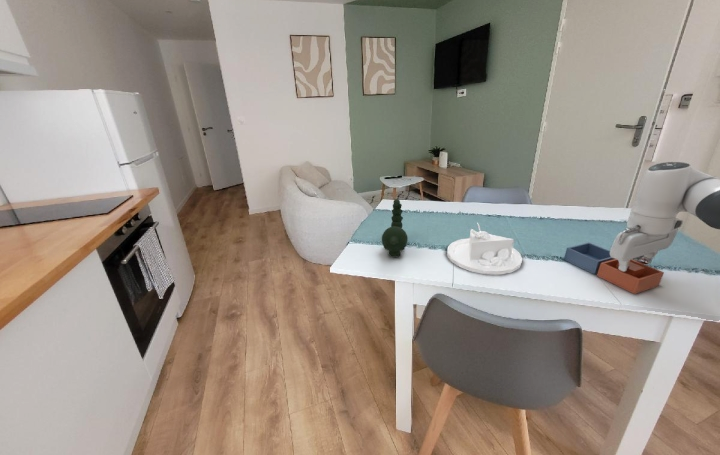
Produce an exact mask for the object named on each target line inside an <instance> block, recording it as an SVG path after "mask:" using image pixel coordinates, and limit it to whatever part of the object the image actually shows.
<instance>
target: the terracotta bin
mask: <svg viewBox="0 0 720 455" xmlns="http://www.w3.org/2000/svg"><path fill="white" fill-rule="evenodd" d="M629 262H632V263H634V264H637V265H639V266H642V267H644V268H645V270H644V272H643V275H642V278H640V279H638V278H636V277H634V276H632V275H629V274H627V273H625V272H622V271H620V270H618V269H616V267H617V264H618V263H619V261H618V260H617V259H613V260H610V261H606V262H603V263H601V264H600V267H599V271H598V273H597V274H596V277H598V278H601V279H603V280H604V281H607V282H609V283H611V284H613V285H615V286H617V287H619V288H621V289H623V290H625V291H628V292H629V293H632V294H634V295H636V294H638V293H642V292H645V291H647V290H651V289H654V288H657V287H659V286H660V283H661V281H662V279H663V277H664V274H665V272H664V271H662V270H659V269H657V268H654V267H652V266H649V265H648V264H642V263H639V262H637V261H634V260H632V259H630V261H629Z"/></svg>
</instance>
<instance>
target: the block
mask: <svg viewBox="0 0 720 455" xmlns="http://www.w3.org/2000/svg"><path fill="white" fill-rule="evenodd" d="M628 265H629V266H630V267H629V270H628V271H625V273H627V274H629V275H632V276H634V277H636V278H638V279H640V278H642V275H643V272H644V270H645V268H644V267H642V266H639V265H637V264H634V263H632V262H628ZM618 267H619V263H618V264H617V267H616V269H618ZM618 270H619V269H618ZM620 271H621V270H620ZM622 272H623V271H622Z"/></svg>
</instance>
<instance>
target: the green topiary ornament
mask: <svg viewBox="0 0 720 455" xmlns="http://www.w3.org/2000/svg"><path fill="white" fill-rule="evenodd" d="M402 206H403V205H402V203H401V201H400V199H398V198H395V199H394V200H393V203H392V210H391V214H392V216H391V217H390V218H391V224H390V227H388V228H387V229H385V230H384V232H382V235H381V242H382V245H383V249H384V250H387V251H388V256H390V257H392V258H398V257H399V256H400V255H401V251H403V250H405V249H406V247H407V245H408V241H409V240H408V239H409V238H408V234H407V232H406V230H404V229H403V222H402V221H403V219H404V218H403V216H402V214H403V209H402Z"/></svg>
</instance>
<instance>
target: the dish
mask: <svg viewBox="0 0 720 455" xmlns="http://www.w3.org/2000/svg"><path fill="white" fill-rule="evenodd" d="M476 225H477V228H478V231H476V230H475V229H473V228H471V229H470V233H469V237H467V238H461V239H460V238H459V239H457V240H455V241H452V242H451V243H450V244H449V245H448V246H447V250H446V257H447V258H448V259H449V261H450V262H452V263H453V264H454V265H456V266H457V267H458V268H461V269H464V270H466V271H468V272H471V273H477V274H482V275H494V276H495V275H496V276H497V275H499V276H500V275H501V276H502V275H505V274H506V275H507V274H511V273H513V272H516V271H517V270H519V269H520V268H521V265H522V263H523V257H522V254H521V253H520V252H519V251H518V250H517V249H516V248H514V242H515V239H514V238H509V237H504V236H500V235H494V234H490V233H489V232H487V231H484V230H481V226H480V224H479V223H478V222H476Z"/></svg>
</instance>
